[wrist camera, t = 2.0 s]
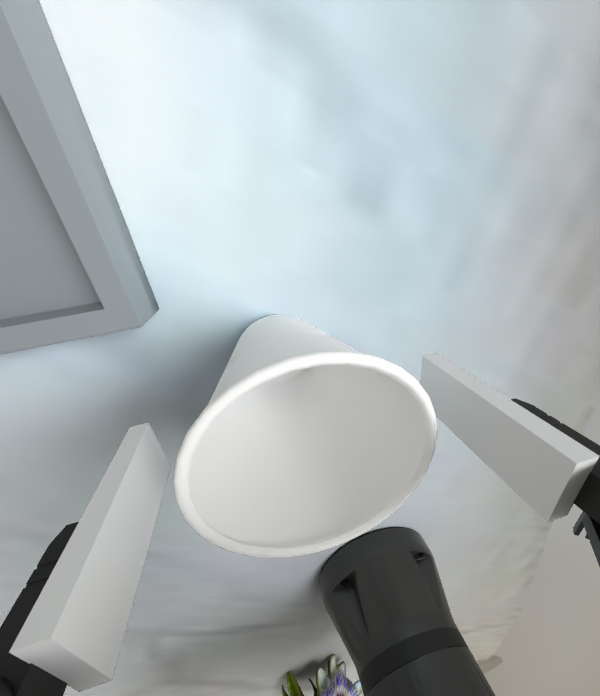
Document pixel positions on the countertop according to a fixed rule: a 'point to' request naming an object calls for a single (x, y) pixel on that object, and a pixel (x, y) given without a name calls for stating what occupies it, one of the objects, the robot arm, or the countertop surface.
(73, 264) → the tray
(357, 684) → the passion flower
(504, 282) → the countertop surface
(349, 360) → the cup
